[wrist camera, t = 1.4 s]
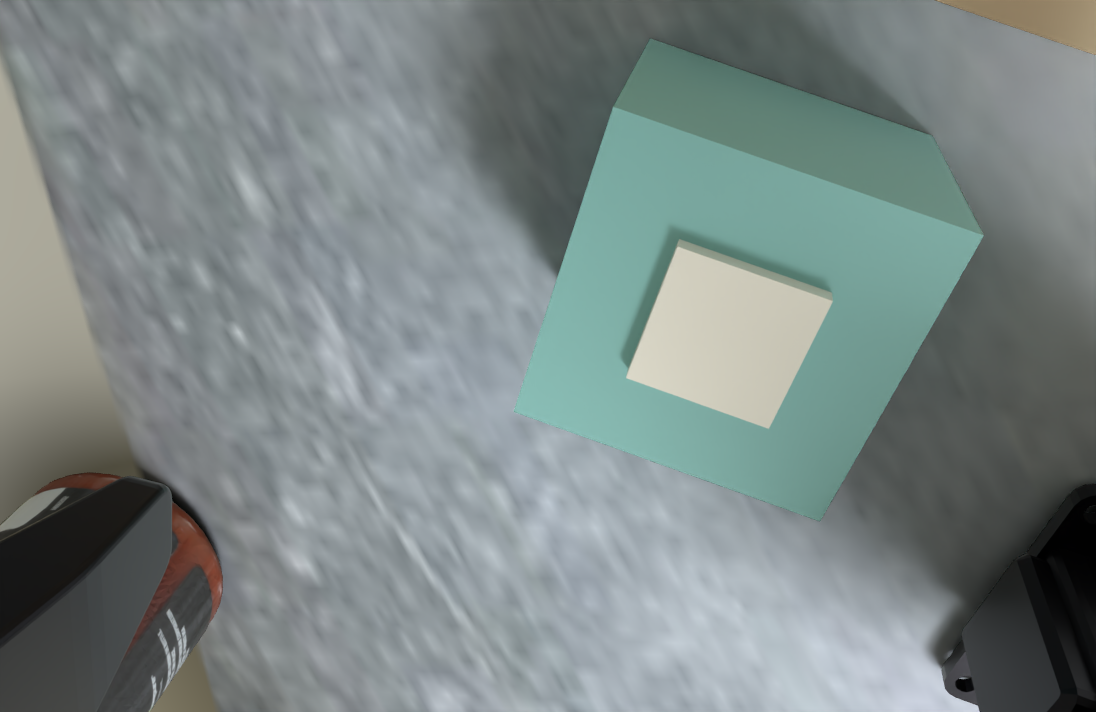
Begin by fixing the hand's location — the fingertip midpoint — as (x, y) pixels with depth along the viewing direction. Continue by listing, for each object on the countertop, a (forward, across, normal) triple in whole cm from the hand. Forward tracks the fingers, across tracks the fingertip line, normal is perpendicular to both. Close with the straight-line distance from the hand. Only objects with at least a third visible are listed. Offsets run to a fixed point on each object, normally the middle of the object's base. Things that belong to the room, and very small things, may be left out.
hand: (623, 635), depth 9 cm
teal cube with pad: (+12, -2, 0) cm, 12 cm away
